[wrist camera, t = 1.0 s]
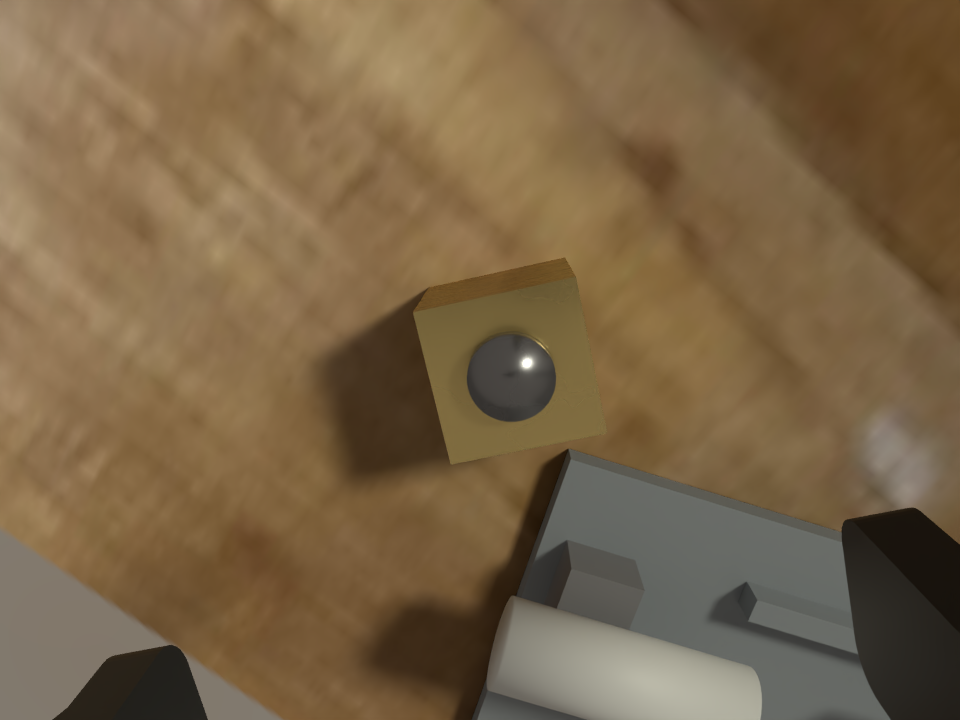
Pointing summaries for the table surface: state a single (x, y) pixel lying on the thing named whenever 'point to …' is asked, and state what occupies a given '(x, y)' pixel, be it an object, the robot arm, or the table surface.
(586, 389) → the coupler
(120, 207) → the table surface
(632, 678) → the twin roller base
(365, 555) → the table surface
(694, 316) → the table surface
